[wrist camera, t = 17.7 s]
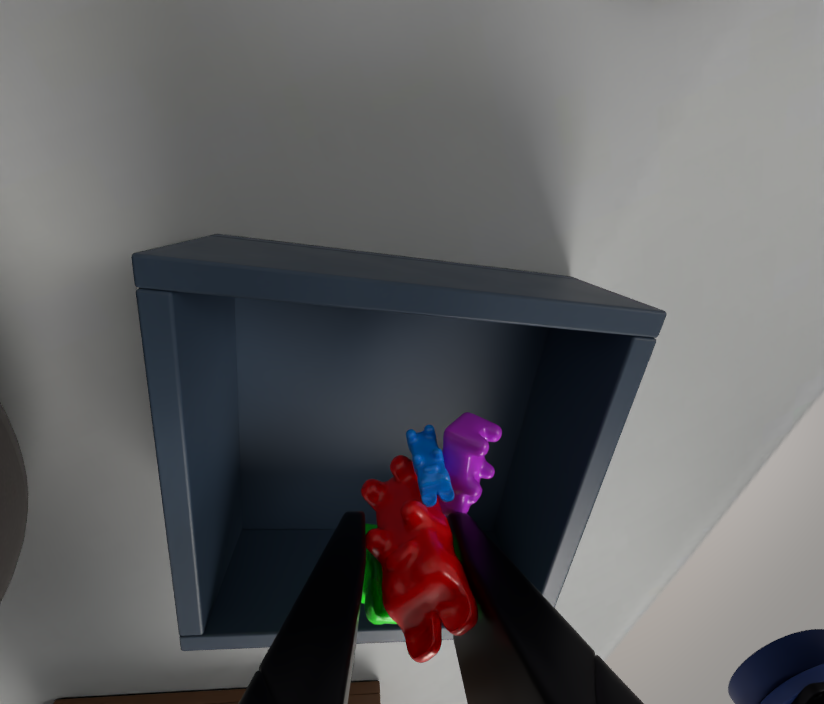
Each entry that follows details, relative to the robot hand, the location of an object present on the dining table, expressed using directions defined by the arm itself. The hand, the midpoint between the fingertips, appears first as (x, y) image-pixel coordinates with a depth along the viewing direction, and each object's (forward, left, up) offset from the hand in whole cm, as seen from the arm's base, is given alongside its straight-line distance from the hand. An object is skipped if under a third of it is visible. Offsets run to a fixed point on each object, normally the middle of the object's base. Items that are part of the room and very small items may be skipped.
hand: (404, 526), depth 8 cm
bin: (0, 0, -5) cm, 5 cm away
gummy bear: (0, 0, -1) cm, 1 cm away
